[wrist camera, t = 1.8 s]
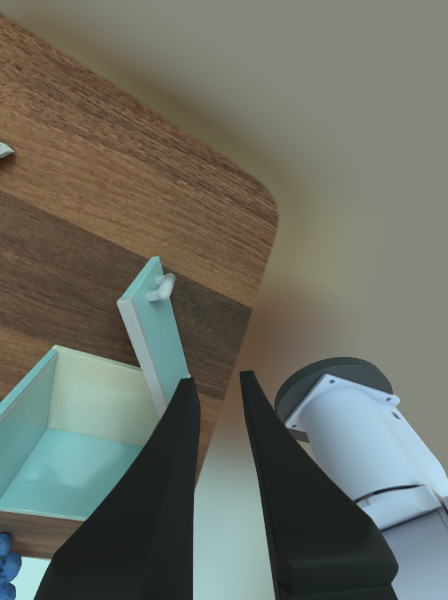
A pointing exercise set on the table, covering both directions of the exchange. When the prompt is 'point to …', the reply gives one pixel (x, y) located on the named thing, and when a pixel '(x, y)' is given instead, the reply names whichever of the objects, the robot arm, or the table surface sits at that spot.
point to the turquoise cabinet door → (154, 331)
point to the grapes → (8, 568)
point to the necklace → (5, 150)
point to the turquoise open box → (71, 433)
